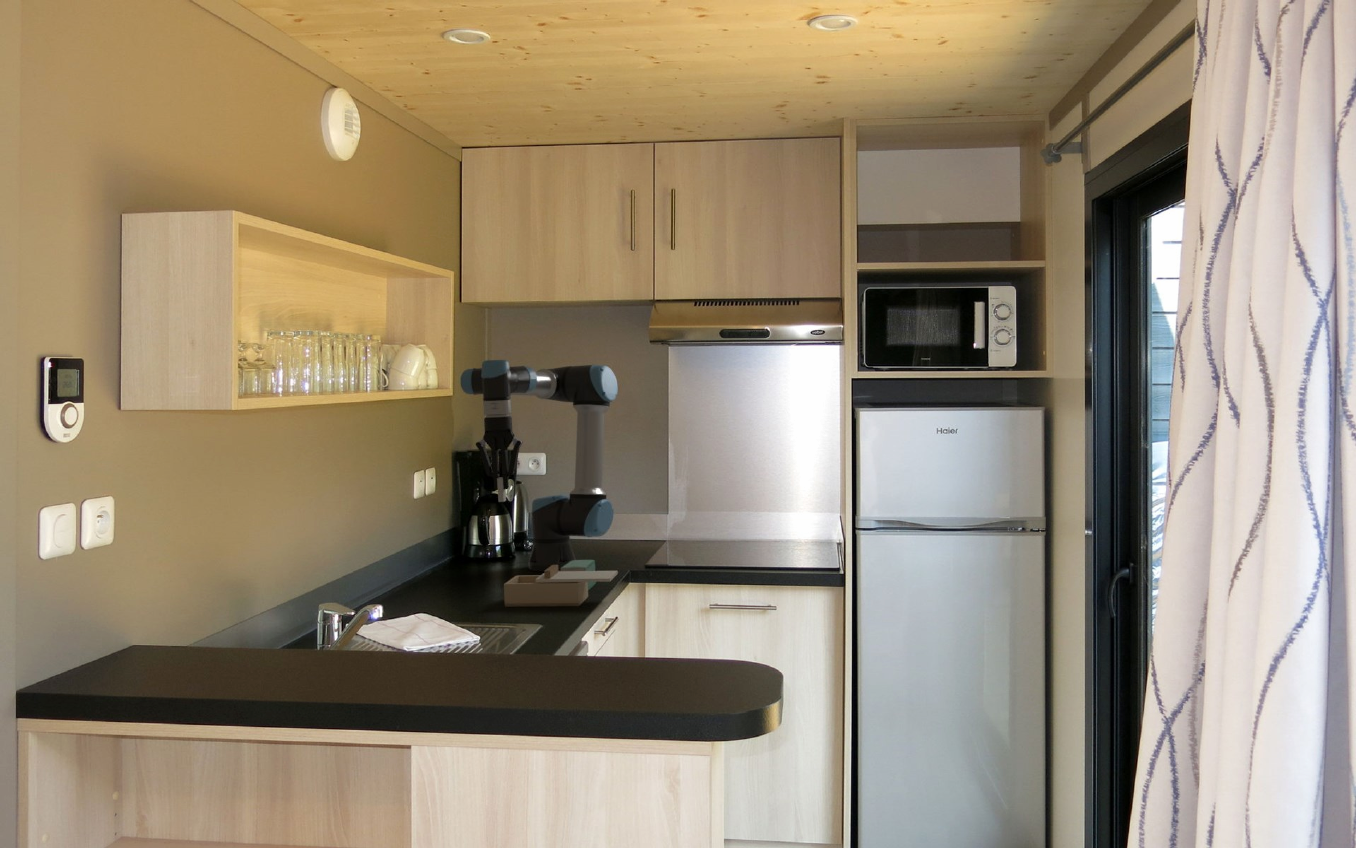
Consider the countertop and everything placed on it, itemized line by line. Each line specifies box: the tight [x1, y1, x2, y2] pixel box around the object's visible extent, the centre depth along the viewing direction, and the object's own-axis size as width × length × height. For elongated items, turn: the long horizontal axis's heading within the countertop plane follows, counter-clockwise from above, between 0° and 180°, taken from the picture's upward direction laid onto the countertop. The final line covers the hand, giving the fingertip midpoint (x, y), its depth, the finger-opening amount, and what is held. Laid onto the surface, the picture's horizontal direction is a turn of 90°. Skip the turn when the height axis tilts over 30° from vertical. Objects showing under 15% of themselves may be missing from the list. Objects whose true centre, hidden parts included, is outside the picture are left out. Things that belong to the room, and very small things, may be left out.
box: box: [561, 559, 597, 591], centre depth 290 cm, size 7×14×8 cm, turn 173°
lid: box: [535, 565, 619, 583], centre depth 273 cm, size 11×20×3 cm, turn 83°
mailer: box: [503, 574, 589, 608], centre depth 274 cm, size 12×20×6 cm, turn 83°
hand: (502, 501), depth 281 cm, fingers closed
